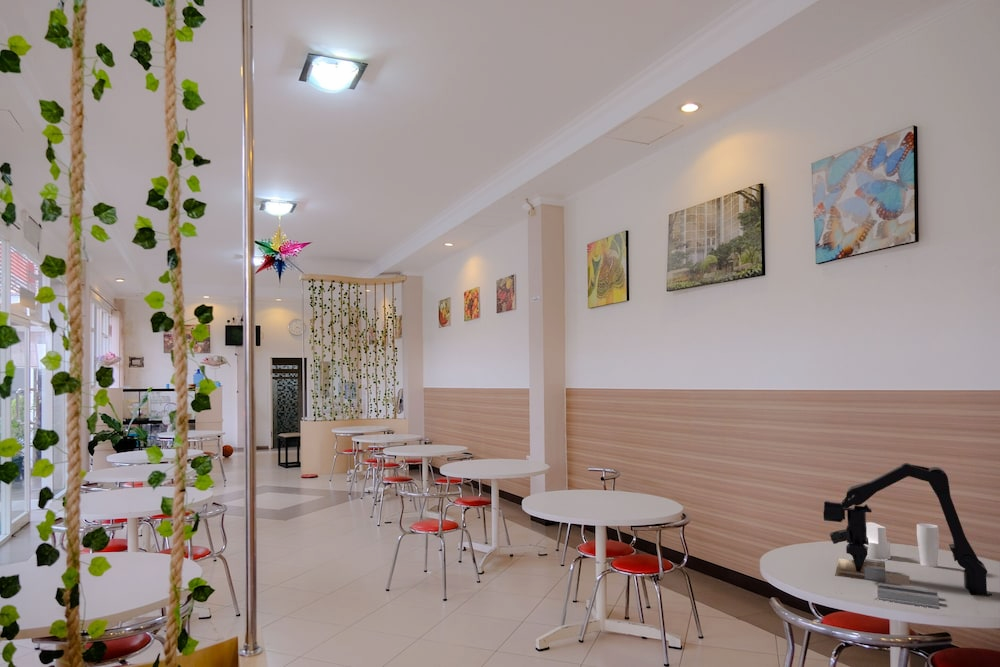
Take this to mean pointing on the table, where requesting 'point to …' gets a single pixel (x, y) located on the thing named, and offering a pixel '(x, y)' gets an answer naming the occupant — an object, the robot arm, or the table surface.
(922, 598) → the v block
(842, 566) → the wooden axle
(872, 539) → the white stepped block
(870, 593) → the table surface
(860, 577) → the brown board with blocks
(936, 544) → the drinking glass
